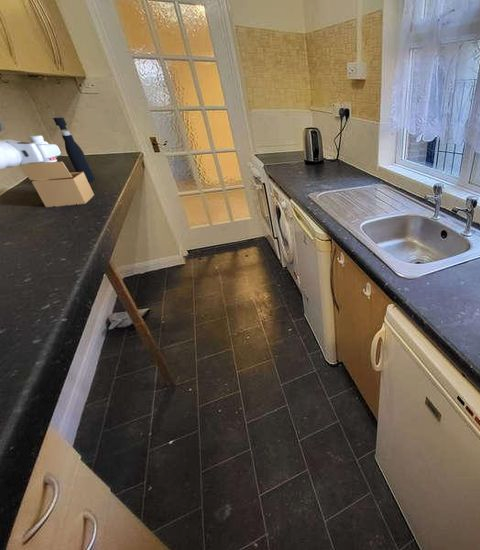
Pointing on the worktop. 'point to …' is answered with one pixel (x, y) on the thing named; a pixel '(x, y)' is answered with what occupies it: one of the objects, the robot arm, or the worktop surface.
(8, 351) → the worktop surface
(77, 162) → the folded umbrella
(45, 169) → the carton flap
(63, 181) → the carton
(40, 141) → the pill bottle
